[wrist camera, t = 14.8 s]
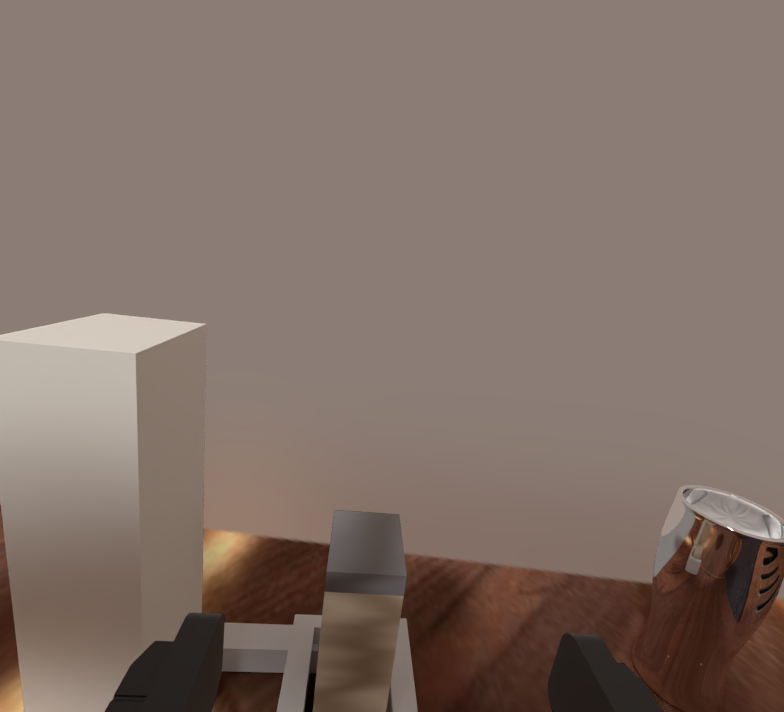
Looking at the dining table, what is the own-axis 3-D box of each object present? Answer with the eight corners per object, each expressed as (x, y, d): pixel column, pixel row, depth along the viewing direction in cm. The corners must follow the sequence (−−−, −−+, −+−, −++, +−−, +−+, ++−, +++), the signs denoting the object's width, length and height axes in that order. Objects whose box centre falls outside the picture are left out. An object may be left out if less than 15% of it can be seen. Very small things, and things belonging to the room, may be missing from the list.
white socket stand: (-2, 817, 20) (-69, 349, 15) (117, 634, 30) (103, 313, 24) (415, 813, 22) (492, 401, 17) (399, 643, 32) (444, 348, 26)
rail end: (306, 778, 23) (326, 571, 20) (316, 688, 28) (334, 509, 25) (375, 779, 23) (406, 575, 20) (374, 689, 28) (399, 514, 25)
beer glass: (614, 625, 36) (659, 475, 33) (702, 651, 34) (759, 496, 31) (641, 704, 29) (701, 526, 26) (751, 740, 28) (830, 556, 24)
